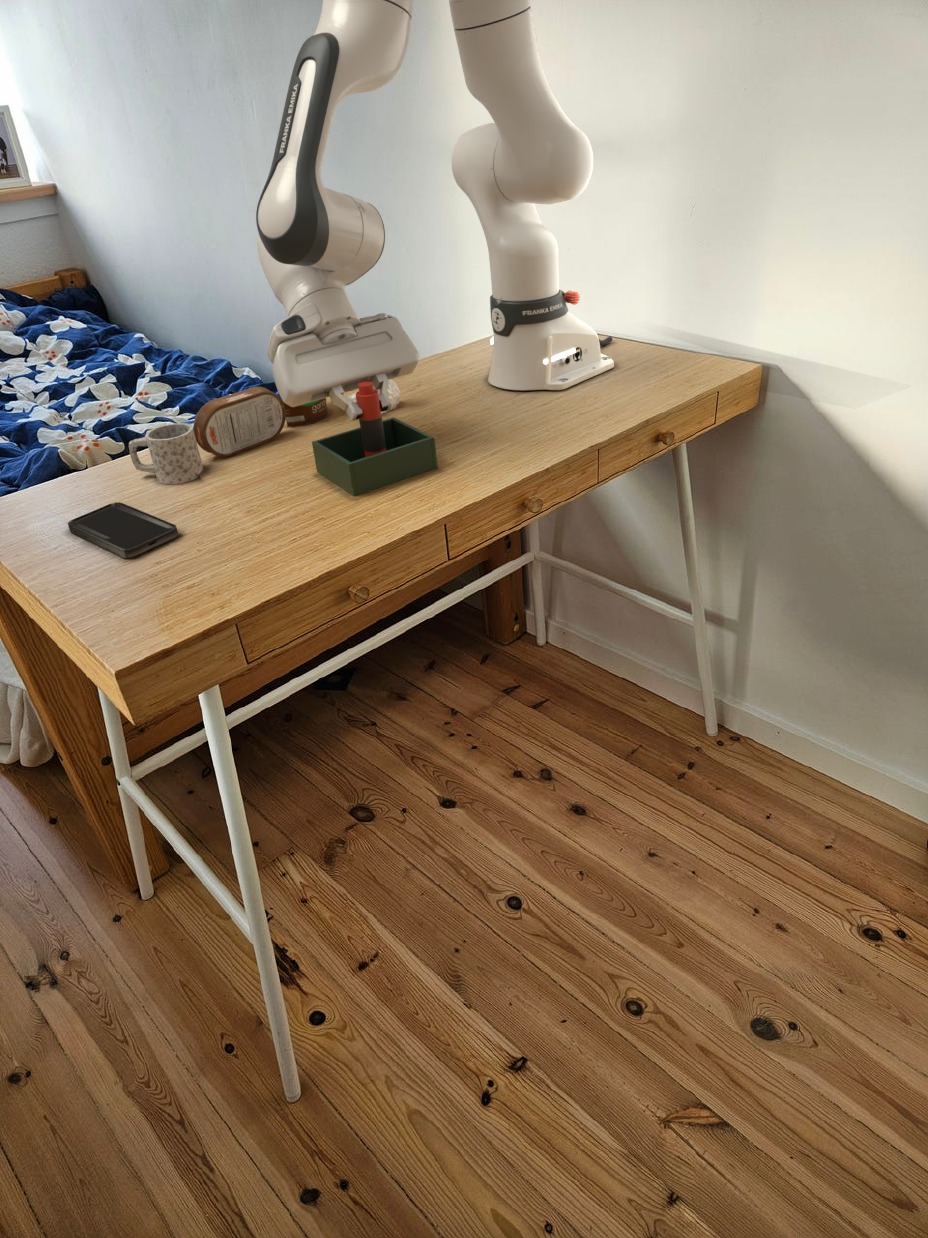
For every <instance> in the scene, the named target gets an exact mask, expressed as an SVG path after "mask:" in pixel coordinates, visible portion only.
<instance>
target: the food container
mask: <svg viewBox="0 0 928 1238" xmlns="http://www.w3.org/2000/svg"><path fill="white" fill-rule="evenodd" d="M279 397H280V398H281V396H280V395H279ZM281 399H282V398H281ZM282 401H283V400H282ZM283 403H284V402H283ZM327 404H328V403H327V398H324V399H320V400H317V401H313V402H310V403H306V404H303V405H299V406H296V407H291V406H289V405H287V404H286V403H284V406H285V413H286V419H285V423H286V425H287V427H288V428H290V427H292V428H293V427H301V426H306V425H310V424H314V423H317V422H319V421H321V420H323V419H324V418H326V417H327V416H328V405H327Z"/></svg>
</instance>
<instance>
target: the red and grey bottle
mask: <svg viewBox="0 0 928 1238" xmlns="http://www.w3.org/2000/svg"><path fill="white" fill-rule="evenodd" d="M358 388H359V389H358V391H357V392H355V393H356V400H357V402H358V403H359V405H360V408H361V409H362V411H363V415H362V418H360V419H358V421H359V428H360V429H361V435H362V442H363V448H364V453H365V457H369V456H372V455H375V454H378V453H381V452H384V451H386V443H385V436H384V429H383V414H381V410H380V402H379V395H378V391H377V390H375V389H374V386H373V382H369V381H367V382H361V383H359V384H358Z"/></svg>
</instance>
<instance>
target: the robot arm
mask: <svg viewBox="0 0 928 1238" xmlns="http://www.w3.org/2000/svg"><path fill="white" fill-rule="evenodd" d="M448 4H449V12H450V17H451V21H452V27H453V30H454V36H455V41H456V45H457V49H458V55H459V59H460V64H461V68H462V73H463V77H464V83H465V85H466V88H467V90H468V92H469V93H470V94H471V96H472V97H473V98H474V99H475V100H477V101H478V102H479V103H480V104H481V105H482V106H483V107H484V109H486V111H487V112H488V114H489V115H490V117H491V118H492V120H493V122H489V123H485V124H482V125H479V126H476V127H473V128H471V129H469V130H466V131H464V132H463V133H462V134H461V135H460V136H459V137H458V139H457V140H456V142H455V144H454V146H453V149H452V153H451V172H452V176H453V179H454V181H455V183H456V184H457V186H458V187H459V188H460V190H461V191H462V192H463V193H464V194H465V195H466V196H467V197H468V199H469V201H470V202H471V204H472V206H473V208H474V210H475V212H476V215H477V217H478V220H479V222H480V225H481V228H482V231H483V234H484V238H485V240H486V241H485V242H486V245H487V252H488V261H489V267H490V268H489V270H490V271H489V272H490V281H491V295H490V296H489V310H490V321H491V322H490V323H491V326H492V332H493V333H492V335H493V336H492V337H491V338H490V340H489V341H490V345H492V352H491V353H492V354H491V361H490V368H489V373H488V378H487V381H488V383H489V384H490V385H491V386H493V387H496V388H499V389H504V390H510V391H538V390H539V391H541V390H542V391H543V390H547V391H563V390H566V389H569V388H571V387H573V386H575V385H577V384H579V383H581V382H584V381H586V380H588V379H591V378H593V377H595V376H597V375H601V374H602V373H605V372H607V371H610V370H611V369H613V368H615V361H614V360H613V359H612V357H610V356H607V355H606V354H603V353H602V352H601V347H603V346H607V345H608V344H610V343H611V342H612V341H613V336H608V337H606V338H605V339H600V338H599V336H598V334H597V332H596V331H595V329H594V328H593V327H591V326H590V325H588V323H585V322H584V321H583V320H581V319H580V318H578V317H577V316H575V315H574V314H573V313H571V312H570V311H569V307H568V305H567V304H571V305H575V306H576V305H577V304H578V303H579V301H580V300H581V299H580V298H581V295H580V294H579V292H578V291H572V290H567V291H566V292H565V291H563V290H562V289H560V277H559V276H560V275H559V274H560V273H559V272H560V271H559V270H560V269H559V245H558V242H557V238H556V237H555V235H554V234H553V233H552V232H551V231H550V230H549V229H548V228H547V227H546V226H545V225H544V223H543V221H542V219H541V218H540V215H539V213H538V210H537V207H536V205H554V204H558V203H563V202H567V201H570V200H574V199H577V197H579V196H580V195H582V193H583V192H584V191H585V190H586V188H587V187H588V185H589V182H590V181H591V177H592V174H593V170H594V152H593V148H592V145H591V141H590V139H589V138H588V136H587V135H586V133H585V132H584V131H582V130H581V129H580V128H579V127H577V126H576V125H575V123H573V122H572V120H571V119H570V118H569V117H568V116H567V115H566V113H565V111H564V110H563V108H562V106H561V105H560V104H559V101H558V100H557V98H556V96H555V94H554V92H553V91H552V88H551V86H550V84H549V81H548V79H547V76H546V74H545V70H544V67H543V63H542V60H541V55H540V49H539V45H538V39H537V34H536V29H535V24H534V23H535V22H534V19H533V13H532V6H531V1H530V0H448ZM413 7H414V0H322V4H321V11H320V15H319V20H318V24H317V27H316V29H315V31H314V33H313V35H310V36H309V37H308V38H307V39H305V41H304V42H303V43H302V45H301V47H300V49H299V50H298V53H297V55H296V59H295V61H294V64H293V69H292V71H291V76H290V80H289V84H288V87H287V93H286V97H285V102H284V107H283V111H282V116H281V120H280V124H279V125H280V126H279V130H278V134H277V139H276V142H275V148H274V153H273V157H272V162H271V166H270V169H269V173H268V176H267V178H266V181H265V184H264V186H263V188H262V191H261V194H260V195H259V199H258V202H257V205H256V211H255V223H256V228H257V229H256V230H257V232H258V234H257V239H256V247H257V253H258V258H259V261H260V266H261V269H262V271H263V273H264V275H265V278H266V280H267V282H268V285H269V286H270V288H271V290H272V292H273V294H274V297H275V298H276V299H277V301H279V303H280V304H281V305H282V306H283V308H284V309H285V313H286V318H284V319H282V320H281V321H279V322H278V323H276V324H275V325H274V326H273V328H272V330H271V333H270V335H269V339H268V344H267V353H266V354H267V358H268V359H269V361H270V363H272V369H271V374H272V378H273V381H274V384H275V386H276V389H277V392H278V394H279V397H280V396H281V398H282V400H283V402H284V403H286V404H287V405H289V406H291V407H296V406H299V405H303V404H306V403H310V402H313V401H317V400H320V399H324V398H326V399H327V398H329V400H330V401H331V403H332V404H333V405H334V406H336V407H338V408H339V409H340V410H342V411H343V412H345V413H346V415H347V417H348V420H349V421H350V422H353V421H357V420H359V419H360V418H362V415H363V411H362V409H361V408H360V405H359V403H358V402H355V403H352V402H351V401H350V400H348V399H347V398H346V397H347V396H345V395H344V394H345V393H348V392H352V391H355V390H359V388H358V384H359V383H361V382H367V381H369V382H373V386H374V388H375V390H379V389H380V392H379V402H380V410H381V412H383V411H387V410H390V408H391V406H392V403H391V401H390V399H389V397H388V395H387V391H388V380H390V379H392V380H393V379H397V378H400V377H403V376H407V375H410V374H412V373H414V371H415V370H416V367H417V365H418V363H419V361H420V352H419V350H418V349H417V347H416V346H415V343H414V342H413V341H412V339H411V338H410V336H409V334H407V332H406V331H405V330H404V328H403V325H402V323H401V321H400V320H399V319H398V318H397V317H396V316H393V315H390V314H387V313H385V312H381V313H377V314H375V315H371V316H370V315H369V316H365V317H361V318H360V317H359V315H358V314H357V311H356V309H355V308H354V306H353V303H352V302H351V300H350V298H349V296H348V294H347V292H346V290H345V287H346V286H350V285H352V284H353V283H354V282H357V280H359V279H361V278H362V277H363V276H364V275H366V274H367V273H368V272H369V271H370V270H371V269H373V268H374V267H375V266H376V264H377V263H378V262H379V260H380V259H381V257H382V254H383V252H384V249H385V245H386V244H385V243H386V229H385V224H384V221H383V218H382V216H381V214H380V212H379V211H378V209H377V208H376V207H375V206H374V205H373V204H371V203H370V202H367V201H364V200H362V199H360V198H358V197H355V196H352V195H350V194H347V193H344V192H339V191H337V190H333V189H331V188H329V187H326V186H324V184H323V181H322V168H323V164H324V159H325V155H326V150H327V146H328V142H329V137H330V132H331V128H332V123H333V119H334V116H335V112H336V110H337V108H338V106H339V105H340V103H341V102H342V101H343V100H344V99H345V98H346V97H348V96H350V95H355V94H362V93H371V92H374V91H376V90H379V89H381V88H383V87H385V86H387V85H388V84H390V83H391V82H392V81H393V80H394V79H395V78H396V77H397V76H398V74H399V73H400V72H401V70H402V68H403V66H404V63H405V60H406V57H407V53H408V49H409V43H410V36H411V26H412V17H413Z"/></svg>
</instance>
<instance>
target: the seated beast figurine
mask: <svg viewBox="0 0 928 1238" xmlns="http://www.w3.org/2000/svg"><path fill="white" fill-rule="evenodd" d="M374 389H375V388H374ZM377 391H378V395H379V392H380V389H379V390H377ZM356 393H357V392H354V393H350V395H347V396H345V397H346V398H347V399H348V400H350V401H351V402H352V403H355V402H357V400H356ZM387 395H388V397H389V399H390V401H391V403H392V406H391V408H390V410H387V411H383V412H381V415H383V414H387V413H389V412H391V411H393V410H396V408H397V407H398V405H399V403H400V401H401V398H402V392H401V390H400V389H399V387H398V385H397V383H396V382H395V381H394V380H393V379H390V380H388V391H387Z"/></svg>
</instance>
